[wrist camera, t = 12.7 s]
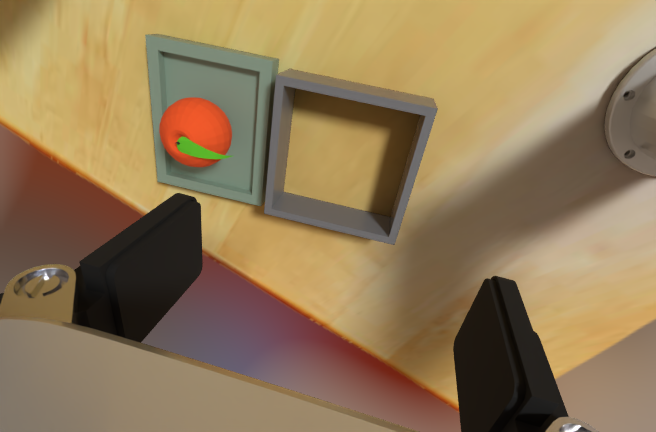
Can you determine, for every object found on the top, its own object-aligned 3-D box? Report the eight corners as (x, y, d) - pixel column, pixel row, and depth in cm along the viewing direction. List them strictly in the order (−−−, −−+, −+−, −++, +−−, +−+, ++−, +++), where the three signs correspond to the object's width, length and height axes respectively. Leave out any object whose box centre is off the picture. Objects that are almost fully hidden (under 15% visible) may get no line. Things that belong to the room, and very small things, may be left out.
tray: (278, 59, 36) (272, 60, 34) (266, 198, 44) (260, 206, 42) (157, 33, 37) (145, 34, 35) (167, 175, 45) (157, 181, 43)
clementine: (259, 113, 38) (231, 131, 32) (241, 168, 41) (213, 194, 35) (189, 80, 37) (147, 91, 31) (177, 138, 41) (138, 159, 35)
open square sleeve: (433, 98, 35) (437, 108, 31) (395, 224, 42) (394, 245, 38) (289, 68, 36) (276, 74, 32) (276, 196, 43) (264, 213, 39)
